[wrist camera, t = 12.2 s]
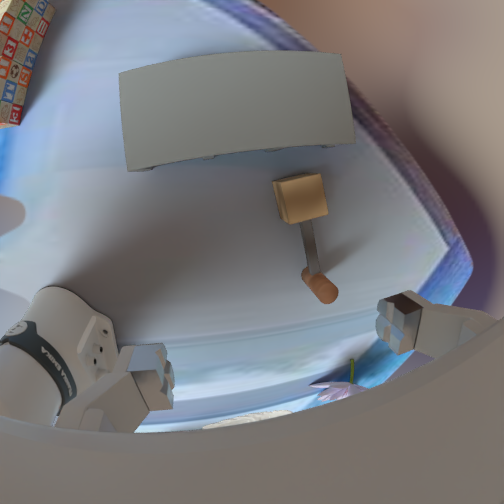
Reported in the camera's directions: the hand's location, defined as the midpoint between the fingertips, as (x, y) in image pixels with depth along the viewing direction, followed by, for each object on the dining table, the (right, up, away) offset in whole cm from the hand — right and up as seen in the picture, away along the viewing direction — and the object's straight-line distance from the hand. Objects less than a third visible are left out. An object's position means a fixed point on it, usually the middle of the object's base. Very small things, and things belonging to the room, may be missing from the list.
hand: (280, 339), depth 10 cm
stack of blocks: (-37, +32, +14) cm, 51 cm away
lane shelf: (-3, +20, +22) cm, 30 cm away
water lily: (+14, -21, +37) cm, 45 cm away
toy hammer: (+6, +6, +28) cm, 29 cm away
